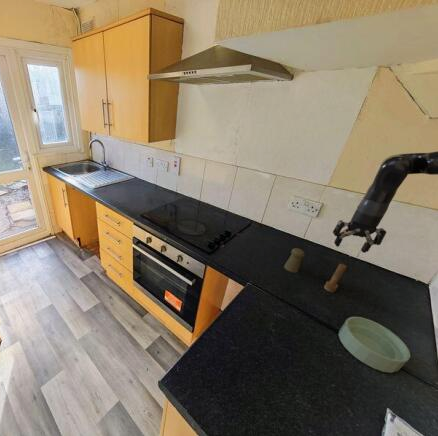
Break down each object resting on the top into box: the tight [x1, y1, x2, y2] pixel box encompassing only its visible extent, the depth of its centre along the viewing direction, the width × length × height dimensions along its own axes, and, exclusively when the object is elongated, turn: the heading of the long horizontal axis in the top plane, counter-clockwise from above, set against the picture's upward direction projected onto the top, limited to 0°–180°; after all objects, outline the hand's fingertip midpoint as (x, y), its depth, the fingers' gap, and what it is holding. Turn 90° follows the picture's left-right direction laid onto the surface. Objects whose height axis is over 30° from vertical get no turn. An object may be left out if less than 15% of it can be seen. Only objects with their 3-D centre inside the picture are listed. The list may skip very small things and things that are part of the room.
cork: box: [283, 247, 306, 274], centre depth 107 cm, size 6×6×11 cm
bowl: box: [338, 316, 411, 374], centre depth 72 cm, size 15×15×6 cm
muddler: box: [323, 263, 347, 293], centre depth 95 cm, size 4×4×13 cm
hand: (349, 248), depth 89 cm, fingers open, 8 cm apart
